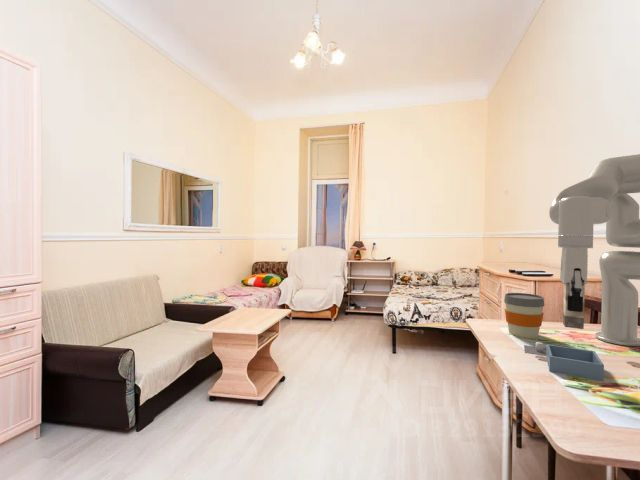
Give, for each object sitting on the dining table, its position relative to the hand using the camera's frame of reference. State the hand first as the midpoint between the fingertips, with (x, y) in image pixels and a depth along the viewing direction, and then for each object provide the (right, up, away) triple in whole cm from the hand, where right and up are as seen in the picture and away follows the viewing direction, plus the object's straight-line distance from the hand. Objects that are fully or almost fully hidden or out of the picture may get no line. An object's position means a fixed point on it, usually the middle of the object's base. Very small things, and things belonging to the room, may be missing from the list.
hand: (573, 308), depth 91 cm
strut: (0, -5, 0) cm, 5 cm away
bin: (0, -17, +1) cm, 17 cm away
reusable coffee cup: (+5, -17, +31) cm, 36 cm away
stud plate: (0, -17, +14) cm, 22 cm away
